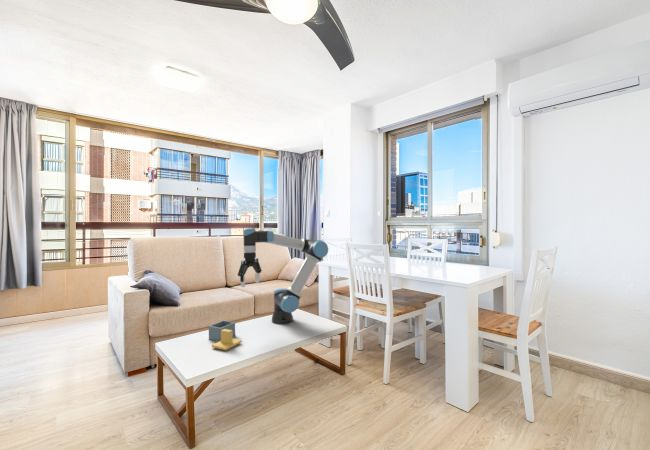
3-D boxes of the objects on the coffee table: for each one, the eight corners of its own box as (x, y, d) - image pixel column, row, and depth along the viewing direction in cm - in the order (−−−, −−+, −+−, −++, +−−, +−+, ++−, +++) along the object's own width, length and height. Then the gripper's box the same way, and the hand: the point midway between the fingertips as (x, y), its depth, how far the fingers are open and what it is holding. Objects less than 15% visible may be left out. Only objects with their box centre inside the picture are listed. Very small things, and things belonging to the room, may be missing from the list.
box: (223, 332, 199) (223, 320, 199) (235, 335, 195) (235, 322, 195) (208, 339, 189) (208, 326, 189) (220, 341, 184) (220, 328, 184)
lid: (227, 340, 186) (227, 325, 186) (241, 343, 181) (241, 328, 181) (211, 348, 175) (211, 332, 175) (225, 352, 170) (225, 335, 170)
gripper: (257, 250, 213) (258, 280, 213) (231, 253, 191) (231, 287, 191) (266, 250, 209) (267, 281, 209) (240, 254, 187) (241, 289, 187)
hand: (250, 284), depth 200 cm, fingers open, 13 cm apart
